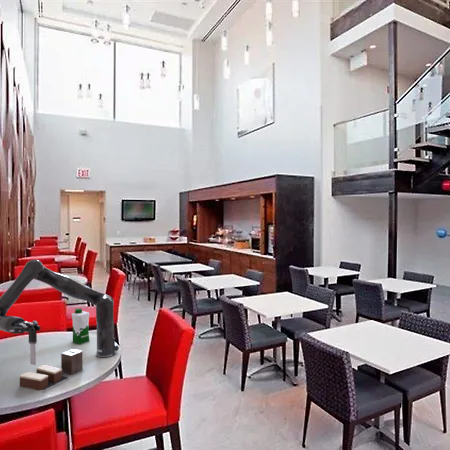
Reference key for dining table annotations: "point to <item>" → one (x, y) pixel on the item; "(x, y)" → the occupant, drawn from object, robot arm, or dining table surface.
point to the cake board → (54, 383)
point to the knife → (32, 343)
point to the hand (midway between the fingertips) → (36, 329)
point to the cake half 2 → (50, 372)
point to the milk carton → (80, 326)
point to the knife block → (71, 361)
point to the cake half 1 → (34, 380)
